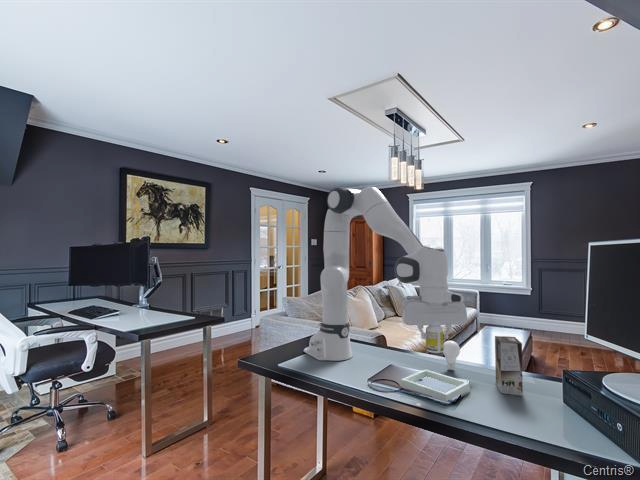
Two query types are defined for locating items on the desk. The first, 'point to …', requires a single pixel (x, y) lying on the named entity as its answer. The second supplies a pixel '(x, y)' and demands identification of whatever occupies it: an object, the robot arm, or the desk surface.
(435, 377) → the tray
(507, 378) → the coffee box
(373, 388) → the socket ring
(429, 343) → the supplement bottle
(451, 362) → the lightbulb
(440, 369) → the desk surface
